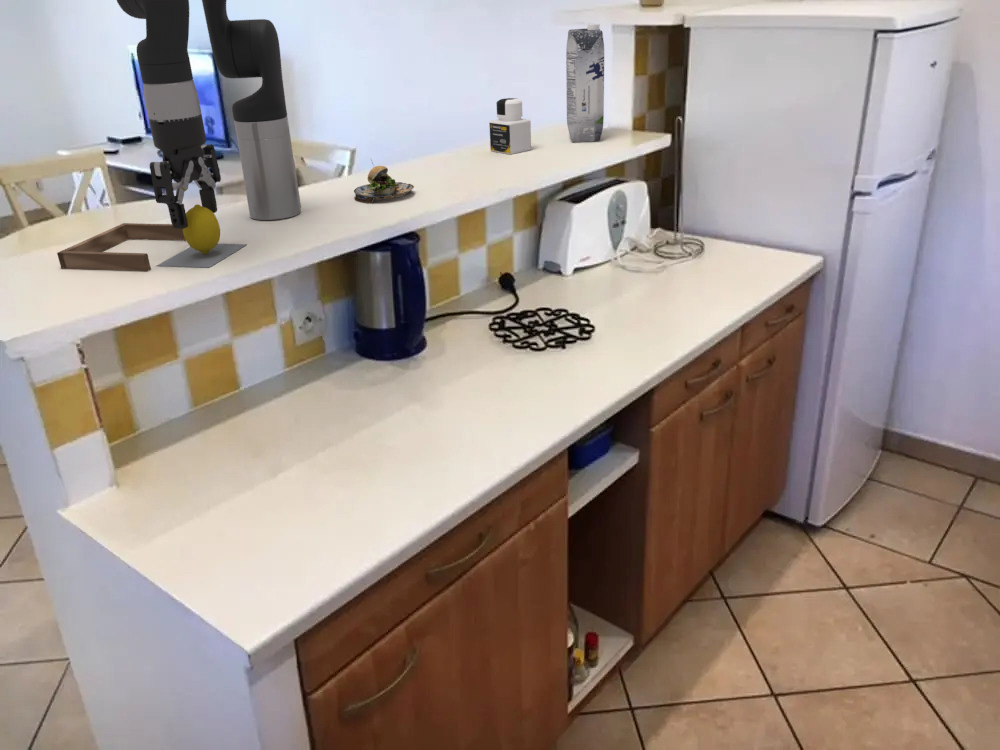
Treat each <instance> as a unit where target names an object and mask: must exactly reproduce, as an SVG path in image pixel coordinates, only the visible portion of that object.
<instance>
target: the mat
mask: <svg viewBox="0 0 1000 750" xmlns="http://www.w3.org/2000/svg"><path fill="white" fill-rule="evenodd" d="M246 246H247V244H246V243H218V244H217V245H216V247H214V248H213V249H211V250H210V251H209V253H208V254H203V253H202V252H200V251H198V250H195V249H193V248H192V247H191V246H189V247H188V248H186V249H184V250H182V251H180V252H178V253H177V254H175V255H173V256H172V257H169V258H168V259H166V260H164V261H162V262H160V263H158V264H157V265H155V266H156V267H169V266H170V268H171V267H174V268H175V267H176V268H200V269H201V268H206V269H210V268H212V267H213V266H215V265H217V264H218V263H219V262H221V261H223V260H224V259H226V258H229V256H231V255H232V254H234V253H236V252H238V251H239V250H241V249H242V248H244V247H246Z"/></svg>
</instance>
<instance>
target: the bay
mask: <svg viewBox="0 0 1000 750" xmlns="http://www.w3.org/2000/svg"><path fill="white" fill-rule="evenodd" d="M142 239H148V240H147V241H149V240H150V241H151V240H152V241H183V240H184V241H185V242H187V241H186V240H185V237H184V234H183V229H176V228H174V227H173V225H172V223H132V222H131V223H129V222H124V223H123V222H122V223H121V224H119V225H116V226H115V227H112V228H110V229H107V230H106V231H103V232H101V233H99V234H96V235H94V236H92V237H90V238H88V239H85V240H83V241H81V242H78V243H76V244H73V245H72V246H70V247H66V248H65V249H63V250H60V251H59V252H58V251H57V252H56V254H57V257H58V262H59V265H60V269H64V270H65V269H67V270H69V269H70V270H92V271H93V270H96V271H97V270H98V271H99V270H100V271H101V270H102V271H122V272H123V271H129V272H148V270H149V271H150V270H152V268H151V263H150V259H149V255H148V253H147V252H146V253H145V252H141V253H140V252H109V251H108V252H105V251H107V250H109V249H111V248H113V247H115V246H117V245H119V244H122V243H123V242H126V241H127V240H142Z"/></svg>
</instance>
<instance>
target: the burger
mask: <svg viewBox="0 0 1000 750" xmlns="http://www.w3.org/2000/svg"><path fill="white" fill-rule="evenodd" d="M370 160H371V161H370V162H371V163H372V165H373V167H372V168H371V169H370V170H369V172H368V175H367V182H368V183H369V184H364V185H361V186H357V187H356V188H355V189H354V190H353V193H354V194H355V195H354V198H353V199H354V201H355V202H358V203H363V204H373V203H374V200H390V199H396V198H400V197H402V196H406V195H407V194H409V192H411V191H412V190H413V189H414V188H415V185H413V184H411V183H407V182H401V181H398V182H396V180H395V179H394V178H392V177H391V176H390V175H389V174H388V171H389V169H388V168H387V167H386V166H384V165H377V166H375V165H374V162H373V160H372V159H370Z"/></svg>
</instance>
